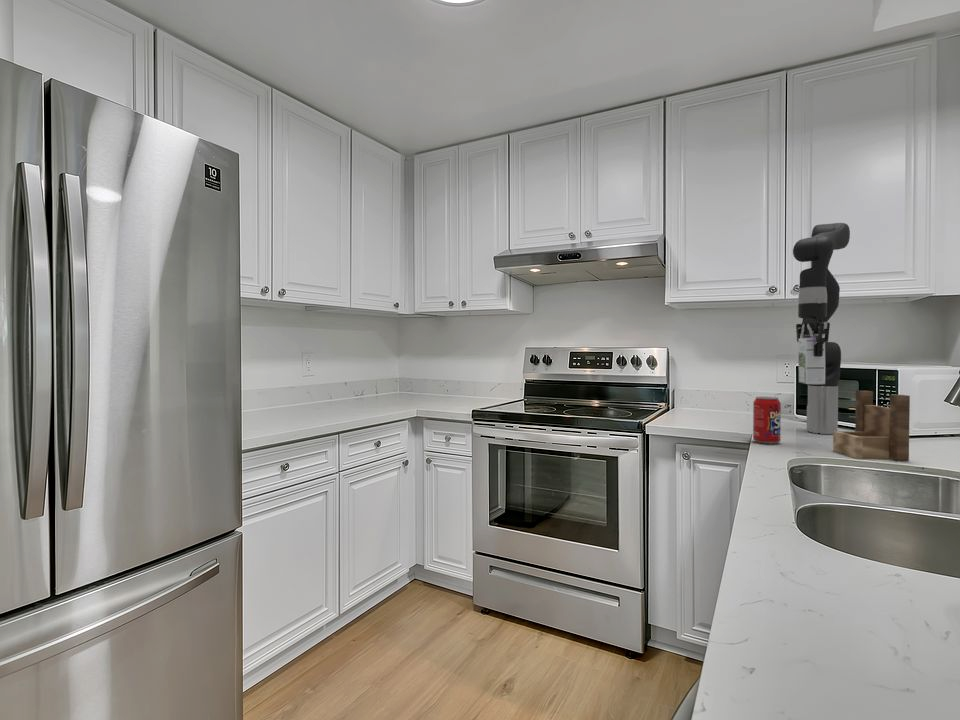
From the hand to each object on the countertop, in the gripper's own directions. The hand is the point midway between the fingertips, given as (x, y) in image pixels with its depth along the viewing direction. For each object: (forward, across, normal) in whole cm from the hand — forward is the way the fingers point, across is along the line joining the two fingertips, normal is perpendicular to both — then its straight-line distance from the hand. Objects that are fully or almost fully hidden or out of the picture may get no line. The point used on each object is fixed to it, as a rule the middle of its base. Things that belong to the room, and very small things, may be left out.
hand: (811, 356), depth 160 cm
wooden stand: (+28, +12, +8) cm, 32 cm away
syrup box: (+9, 0, 0) cm, 9 cm away
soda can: (+29, -7, -10) cm, 31 cm away
